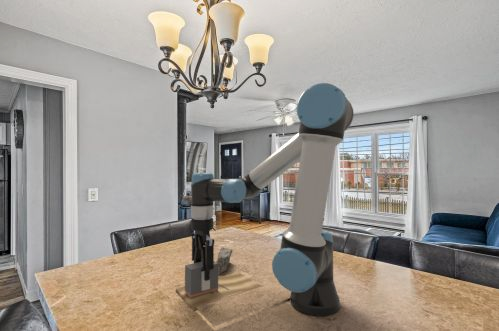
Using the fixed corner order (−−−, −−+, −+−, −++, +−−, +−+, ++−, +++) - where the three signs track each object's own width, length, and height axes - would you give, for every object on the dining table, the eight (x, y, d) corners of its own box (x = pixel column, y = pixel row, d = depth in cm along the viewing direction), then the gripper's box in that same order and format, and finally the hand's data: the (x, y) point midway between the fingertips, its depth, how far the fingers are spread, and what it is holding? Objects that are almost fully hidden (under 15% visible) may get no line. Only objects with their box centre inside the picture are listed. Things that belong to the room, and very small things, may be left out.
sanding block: (211, 284, 94) (211, 259, 94) (218, 289, 90) (218, 263, 90) (184, 292, 88) (185, 265, 88) (190, 297, 84) (191, 269, 84)
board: (262, 288, 93) (262, 285, 93) (194, 310, 78) (194, 307, 78) (238, 274, 107) (238, 271, 107) (175, 291, 92) (175, 288, 92)
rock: (223, 278, 102) (226, 251, 104) (204, 275, 104) (206, 249, 106) (235, 271, 117) (237, 247, 118) (218, 268, 119) (220, 245, 121)
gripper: (224, 220, 84) (224, 293, 84) (201, 213, 99) (201, 275, 98) (203, 223, 80) (203, 300, 79) (182, 215, 95) (181, 279, 94)
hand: (202, 286), depth 89 cm, fingers closed on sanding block, 5 cm apart
